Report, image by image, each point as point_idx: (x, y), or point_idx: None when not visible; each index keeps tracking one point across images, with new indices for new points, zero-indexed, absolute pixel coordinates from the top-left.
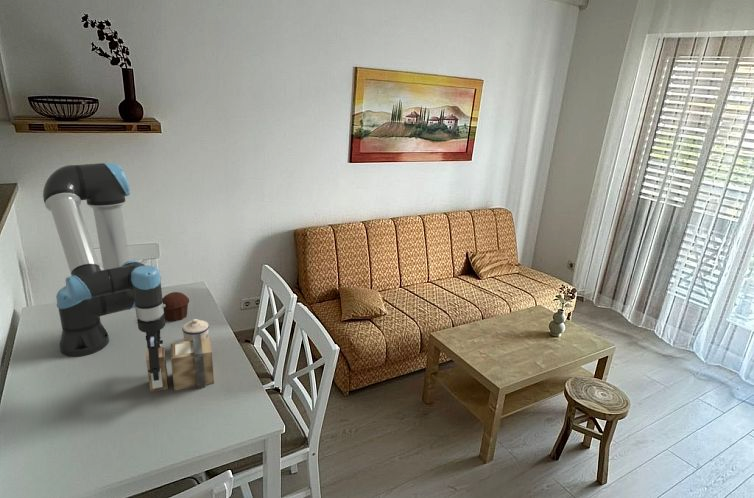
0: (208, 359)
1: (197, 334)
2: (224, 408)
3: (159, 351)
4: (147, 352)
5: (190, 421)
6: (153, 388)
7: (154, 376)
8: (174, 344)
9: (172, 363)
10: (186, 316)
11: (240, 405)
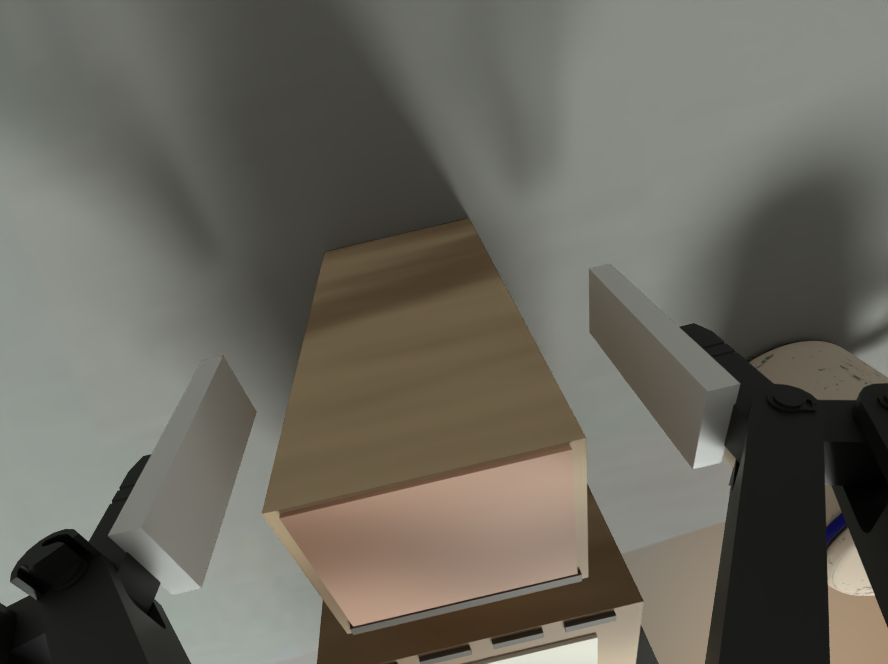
0: None
1: None
2: (209, 589)
3: (482, 576)
4: (482, 474)
5: (76, 512)
6: (205, 365)
7: (116, 515)
8: (607, 628)
9: (326, 609)
10: None
11: (238, 621)
